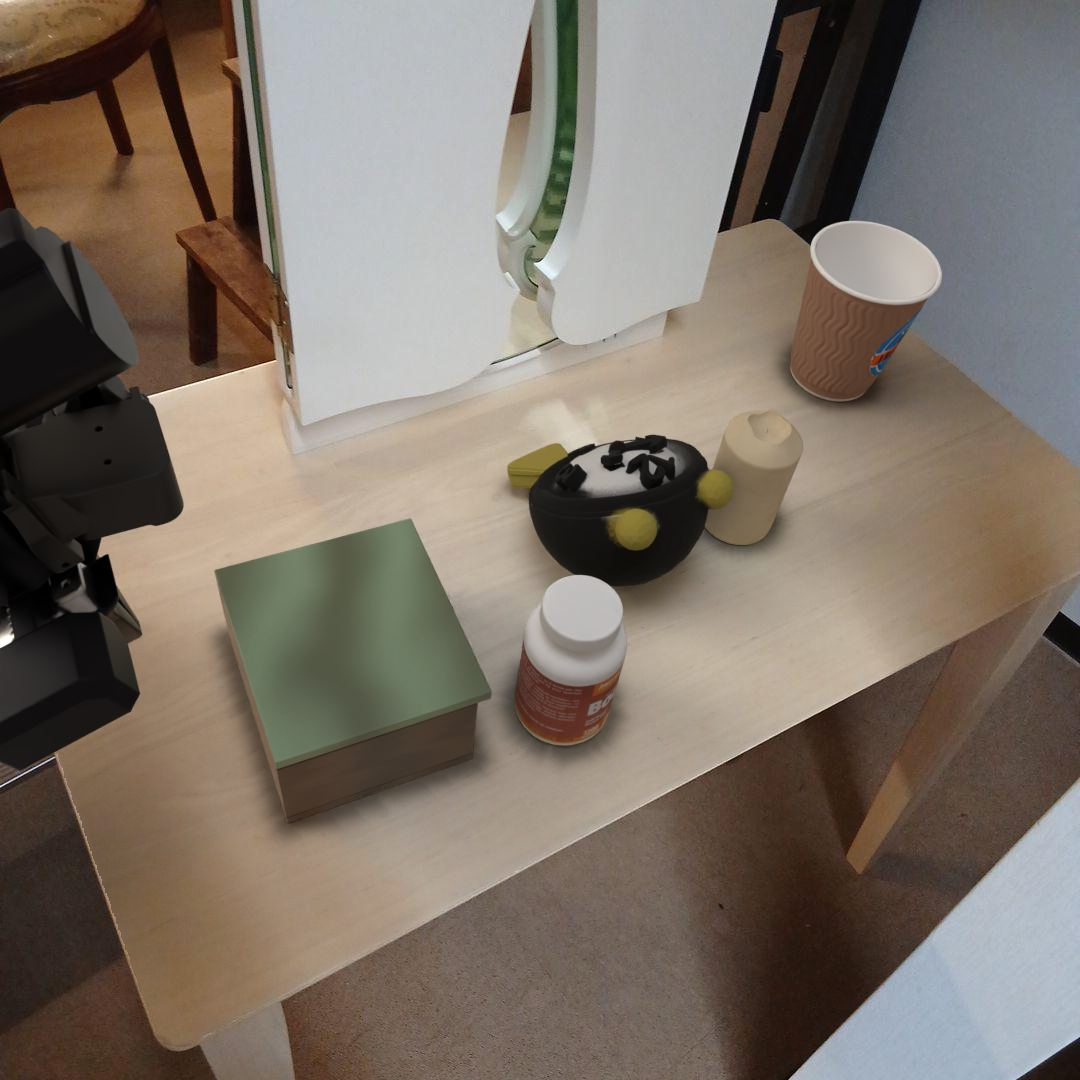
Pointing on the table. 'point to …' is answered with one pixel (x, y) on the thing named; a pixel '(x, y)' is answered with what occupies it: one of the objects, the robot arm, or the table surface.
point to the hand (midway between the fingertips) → (133, 634)
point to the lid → (348, 641)
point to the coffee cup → (858, 305)
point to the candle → (754, 474)
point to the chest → (366, 758)
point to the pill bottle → (571, 661)
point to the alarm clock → (620, 505)
